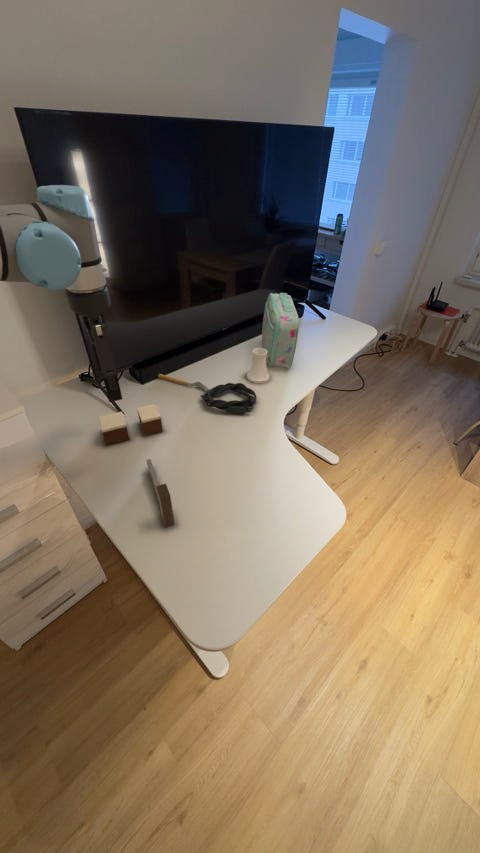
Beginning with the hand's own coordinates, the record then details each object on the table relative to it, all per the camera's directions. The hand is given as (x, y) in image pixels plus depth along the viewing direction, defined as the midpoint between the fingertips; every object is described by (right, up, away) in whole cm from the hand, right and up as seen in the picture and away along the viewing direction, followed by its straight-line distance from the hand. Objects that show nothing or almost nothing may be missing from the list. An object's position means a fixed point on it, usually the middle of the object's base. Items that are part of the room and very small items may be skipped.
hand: (109, 383), depth 77 cm
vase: (+36, +7, +41) cm, 55 cm away
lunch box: (+43, +18, +54) cm, 71 cm away
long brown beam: (+11, -26, 0) cm, 28 cm away
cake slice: (+5, -10, +18) cm, 21 cm away
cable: (+26, -2, +29) cm, 39 cm away
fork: (+11, +4, +36) cm, 38 cm away
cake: (-4, -12, +15) cm, 20 cm away
